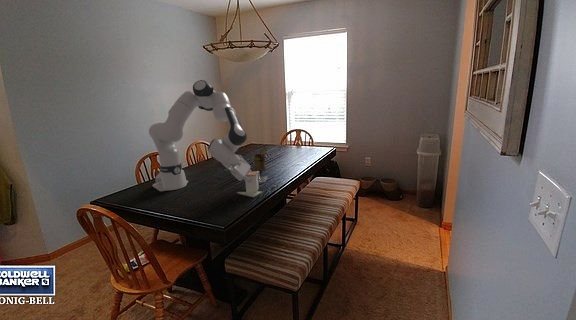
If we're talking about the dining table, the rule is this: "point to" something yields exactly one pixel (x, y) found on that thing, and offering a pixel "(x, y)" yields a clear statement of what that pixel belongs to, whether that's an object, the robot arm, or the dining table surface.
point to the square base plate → (261, 178)
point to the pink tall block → (254, 184)
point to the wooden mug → (260, 160)
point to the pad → (250, 193)
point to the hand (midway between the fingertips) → (252, 179)
